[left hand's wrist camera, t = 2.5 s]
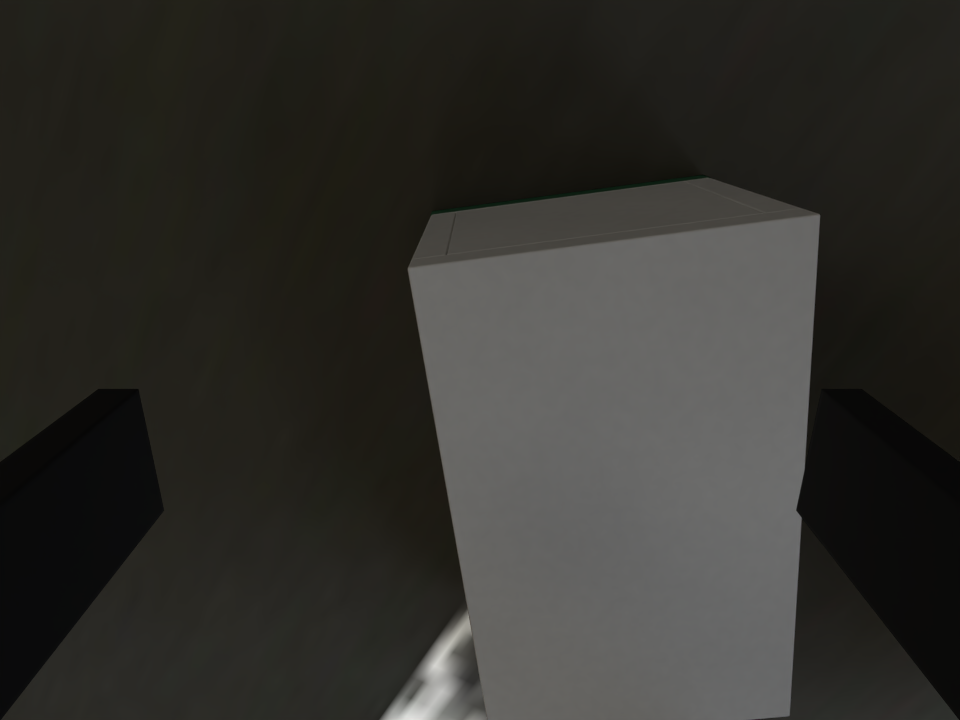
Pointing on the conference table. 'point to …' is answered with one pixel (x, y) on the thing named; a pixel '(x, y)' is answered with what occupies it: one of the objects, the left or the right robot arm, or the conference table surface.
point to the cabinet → (624, 443)
